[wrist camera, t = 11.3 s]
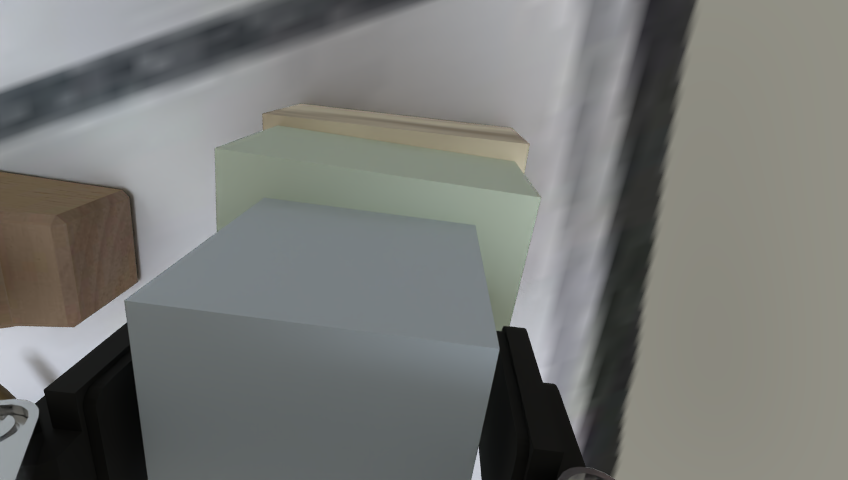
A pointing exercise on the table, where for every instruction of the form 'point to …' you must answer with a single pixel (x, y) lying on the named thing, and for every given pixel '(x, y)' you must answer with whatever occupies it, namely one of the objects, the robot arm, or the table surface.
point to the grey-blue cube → (316, 349)
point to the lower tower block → (405, 130)
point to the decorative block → (61, 250)
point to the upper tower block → (388, 191)
